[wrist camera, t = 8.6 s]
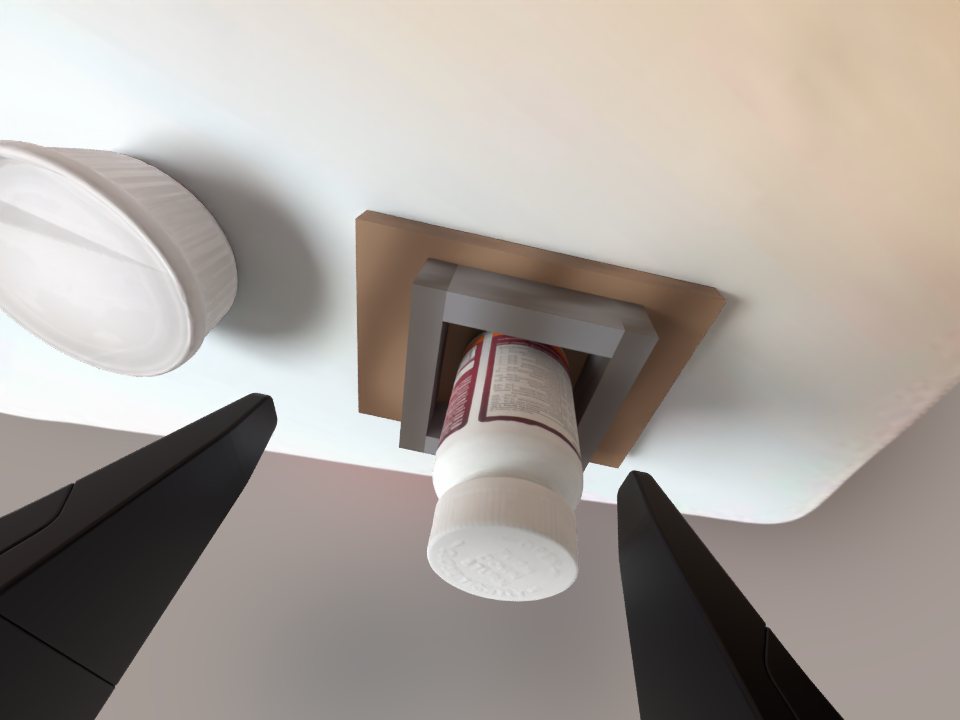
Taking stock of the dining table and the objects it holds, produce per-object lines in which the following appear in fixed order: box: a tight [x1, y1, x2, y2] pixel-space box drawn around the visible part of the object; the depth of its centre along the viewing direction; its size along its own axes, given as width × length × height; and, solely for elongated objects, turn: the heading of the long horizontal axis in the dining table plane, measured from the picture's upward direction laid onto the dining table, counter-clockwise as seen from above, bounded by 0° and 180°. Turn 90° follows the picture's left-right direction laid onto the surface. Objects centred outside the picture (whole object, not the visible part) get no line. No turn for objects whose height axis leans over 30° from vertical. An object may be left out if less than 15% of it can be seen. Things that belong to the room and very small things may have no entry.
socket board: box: [356, 210, 726, 472], centre depth 21 cm, size 18×13×4 cm
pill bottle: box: [427, 331, 583, 601], centre depth 17 cm, size 6×6×11 cm
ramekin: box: [0, 140, 238, 377], centre depth 20 cm, size 11×11×5 cm
